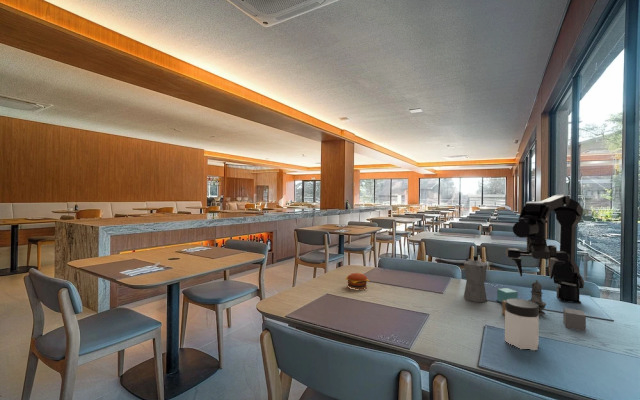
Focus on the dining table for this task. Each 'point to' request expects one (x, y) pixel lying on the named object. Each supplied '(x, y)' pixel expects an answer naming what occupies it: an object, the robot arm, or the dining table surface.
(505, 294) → the teal block
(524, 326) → the jar
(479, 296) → the coffeepot
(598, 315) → the dining table surface
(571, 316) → the grey cube
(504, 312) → the walnut block
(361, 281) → the hamburger
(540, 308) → the salt shaker
